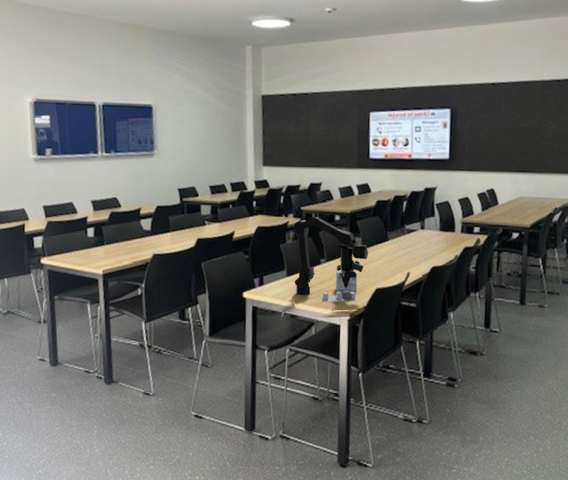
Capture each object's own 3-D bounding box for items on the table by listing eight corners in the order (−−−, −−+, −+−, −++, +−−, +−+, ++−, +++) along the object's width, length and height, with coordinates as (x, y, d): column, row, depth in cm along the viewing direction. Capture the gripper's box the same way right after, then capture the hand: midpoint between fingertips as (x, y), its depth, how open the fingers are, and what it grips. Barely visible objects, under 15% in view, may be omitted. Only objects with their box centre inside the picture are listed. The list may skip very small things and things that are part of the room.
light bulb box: (354, 289, 328) (355, 270, 327) (356, 292, 322) (357, 273, 320) (335, 289, 328) (335, 270, 326) (337, 292, 321) (337, 273, 320)
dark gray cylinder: (350, 300, 303) (352, 294, 302) (343, 298, 302) (346, 292, 302) (347, 297, 309) (350, 291, 308) (341, 295, 308) (344, 289, 308)
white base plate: (323, 303, 298) (323, 294, 298) (319, 297, 310) (319, 288, 309) (359, 303, 300) (359, 293, 300) (353, 297, 312) (353, 287, 311)
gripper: (367, 260, 294) (366, 291, 296) (357, 254, 312) (356, 283, 315) (344, 261, 293) (343, 292, 295) (336, 254, 311) (336, 283, 313)
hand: (345, 287), depth 305 cm, fingers closed
